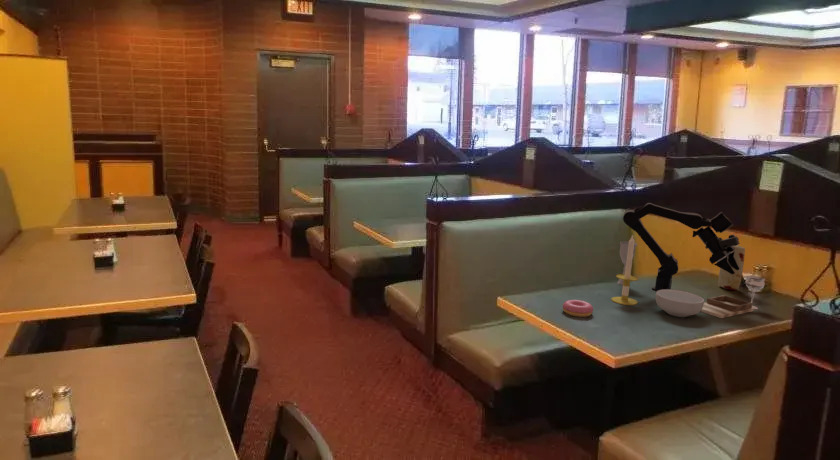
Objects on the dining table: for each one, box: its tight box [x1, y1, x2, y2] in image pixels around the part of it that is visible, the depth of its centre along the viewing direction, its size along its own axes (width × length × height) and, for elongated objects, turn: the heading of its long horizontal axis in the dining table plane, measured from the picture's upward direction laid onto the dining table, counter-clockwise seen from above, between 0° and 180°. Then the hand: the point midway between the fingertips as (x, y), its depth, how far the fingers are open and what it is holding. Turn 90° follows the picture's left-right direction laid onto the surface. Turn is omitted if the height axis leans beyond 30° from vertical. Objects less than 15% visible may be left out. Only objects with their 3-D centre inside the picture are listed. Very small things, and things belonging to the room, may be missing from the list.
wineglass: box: [744, 275, 766, 310], centre depth 250 cm, size 7×7×12 cm
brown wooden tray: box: [700, 294, 754, 319], centre depth 245 cm, size 21×13×3 cm, turn 123°
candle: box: [610, 234, 639, 306], centre depth 246 cm, size 10×10×27 cm
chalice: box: [617, 241, 638, 286], centre depth 273 cm, size 7×7×18 cm
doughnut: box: [562, 299, 594, 318], centre depth 230 cm, size 11×11×4 cm
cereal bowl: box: [655, 289, 705, 318], centre depth 236 cm, size 17×17×7 cm
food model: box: [717, 244, 746, 291], centre depth 275 cm, size 10×7×20 cm
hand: (736, 271), depth 253 cm, fingers open, 9 cm apart
